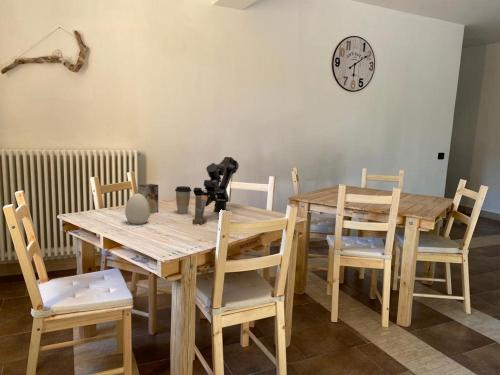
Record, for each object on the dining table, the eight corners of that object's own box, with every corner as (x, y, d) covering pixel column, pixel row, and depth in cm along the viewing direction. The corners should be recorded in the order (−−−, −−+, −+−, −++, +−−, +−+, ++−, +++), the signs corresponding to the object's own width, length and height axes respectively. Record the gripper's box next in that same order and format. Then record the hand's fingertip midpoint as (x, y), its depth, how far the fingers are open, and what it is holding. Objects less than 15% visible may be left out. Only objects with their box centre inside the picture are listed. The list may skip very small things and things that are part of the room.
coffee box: (151, 210, 224) (151, 183, 222) (158, 212, 221) (158, 184, 218) (138, 212, 217) (138, 184, 215) (145, 214, 213) (145, 186, 211)
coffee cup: (171, 212, 220) (171, 187, 218) (181, 210, 228) (181, 185, 226) (184, 215, 216) (184, 189, 213) (194, 212, 224) (194, 187, 222)
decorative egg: (155, 222, 197) (155, 193, 195) (137, 226, 187) (137, 196, 185) (138, 218, 203) (138, 190, 201) (120, 222, 193) (119, 193, 191)
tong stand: (197, 221, 203) (198, 194, 201) (206, 222, 202) (207, 194, 200) (192, 224, 196) (193, 196, 194) (201, 225, 195) (202, 196, 193)
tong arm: (197, 217, 200) (202, 196, 204) (202, 217, 199) (207, 196, 203) (196, 216, 198) (201, 195, 202) (202, 217, 197) (206, 195, 202)
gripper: (195, 173, 211) (186, 195, 202) (226, 175, 206) (218, 198, 197) (200, 185, 220) (191, 207, 211) (230, 188, 215) (223, 210, 206)
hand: (206, 205), depth 206 cm, fingers closed
